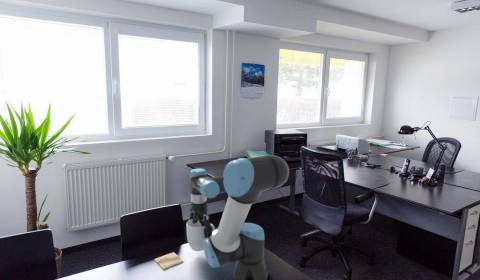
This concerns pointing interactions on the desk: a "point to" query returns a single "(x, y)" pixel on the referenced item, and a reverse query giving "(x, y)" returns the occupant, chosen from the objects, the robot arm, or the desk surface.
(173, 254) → the coaster
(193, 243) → the mug
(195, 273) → the desk surface
